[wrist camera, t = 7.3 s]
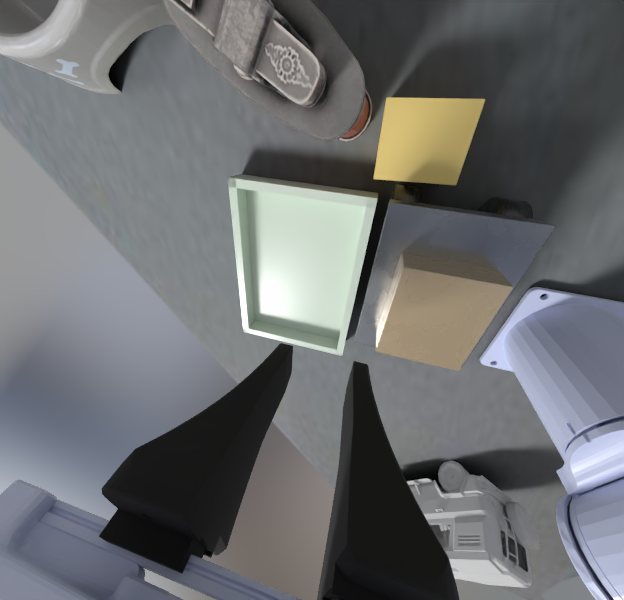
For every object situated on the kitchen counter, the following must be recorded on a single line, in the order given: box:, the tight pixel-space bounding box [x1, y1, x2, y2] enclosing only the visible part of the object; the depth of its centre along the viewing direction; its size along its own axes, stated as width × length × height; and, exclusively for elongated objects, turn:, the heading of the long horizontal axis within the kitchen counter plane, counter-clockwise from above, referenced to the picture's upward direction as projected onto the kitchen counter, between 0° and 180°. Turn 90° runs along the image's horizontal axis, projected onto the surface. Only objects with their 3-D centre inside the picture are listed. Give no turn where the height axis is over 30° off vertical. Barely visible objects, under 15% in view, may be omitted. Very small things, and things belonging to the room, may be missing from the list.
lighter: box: [163, 0, 373, 142], centre depth 10 cm, size 8×3×10 cm, turn 57°
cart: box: [354, 184, 555, 371], centre depth 16 cm, size 8×11×7 cm
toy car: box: [407, 460, 540, 588], centre depth 31 cm, size 10×20×10 cm, turn 140°
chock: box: [373, 97, 485, 185], centre depth 14 cm, size 4×4×3 cm
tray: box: [228, 174, 378, 356], centre depth 21 cm, size 10×14×2 cm
